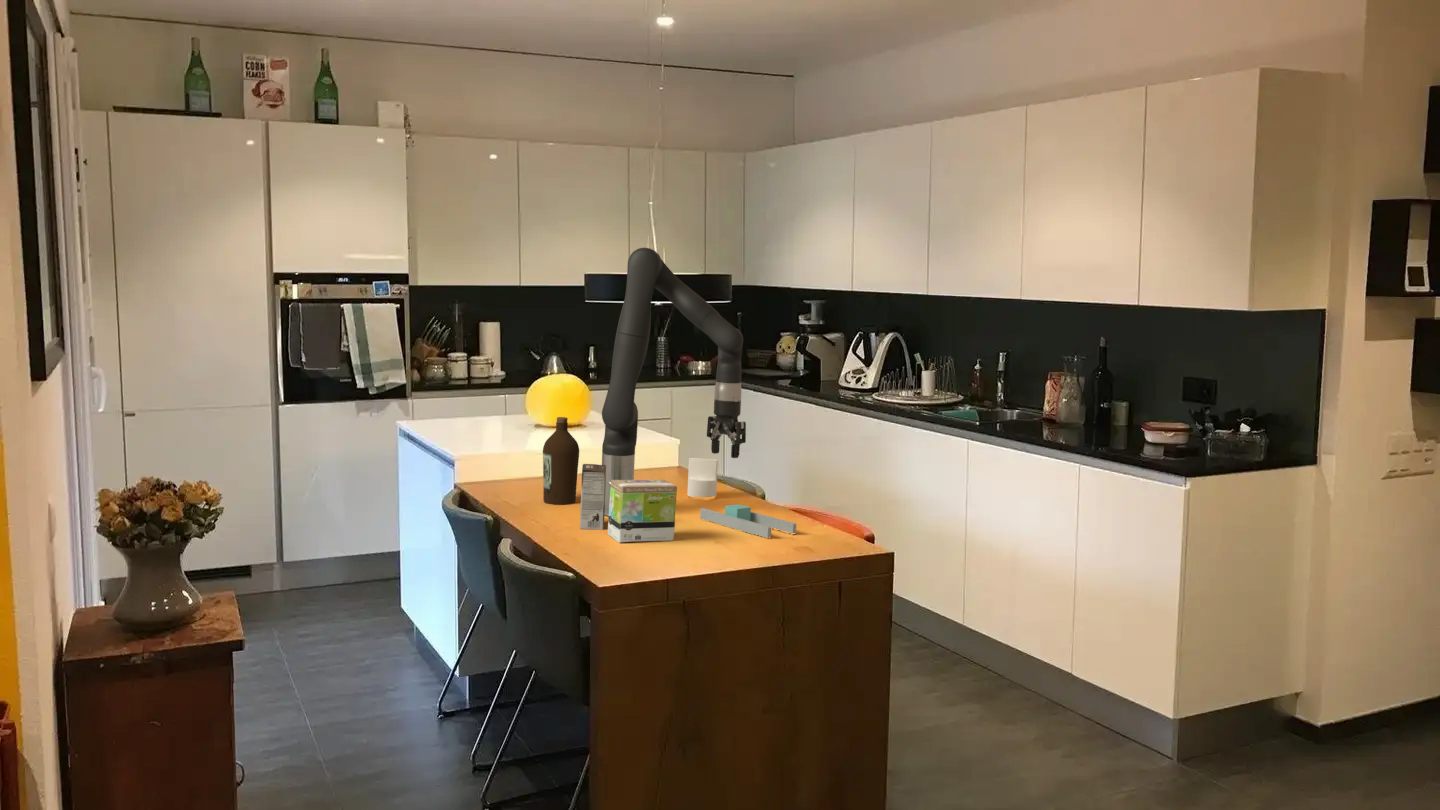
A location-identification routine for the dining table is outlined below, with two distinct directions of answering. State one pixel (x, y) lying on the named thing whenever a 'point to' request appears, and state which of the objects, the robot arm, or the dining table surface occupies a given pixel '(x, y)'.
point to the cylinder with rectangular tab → (702, 477)
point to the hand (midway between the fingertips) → (725, 455)
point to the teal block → (738, 511)
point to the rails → (749, 522)
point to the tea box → (642, 510)
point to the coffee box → (593, 496)
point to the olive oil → (560, 465)
